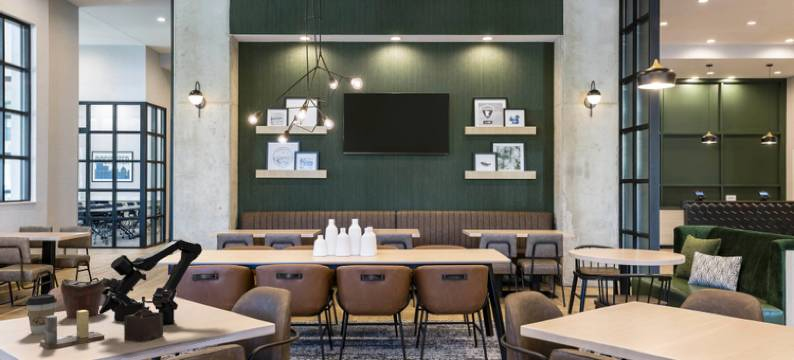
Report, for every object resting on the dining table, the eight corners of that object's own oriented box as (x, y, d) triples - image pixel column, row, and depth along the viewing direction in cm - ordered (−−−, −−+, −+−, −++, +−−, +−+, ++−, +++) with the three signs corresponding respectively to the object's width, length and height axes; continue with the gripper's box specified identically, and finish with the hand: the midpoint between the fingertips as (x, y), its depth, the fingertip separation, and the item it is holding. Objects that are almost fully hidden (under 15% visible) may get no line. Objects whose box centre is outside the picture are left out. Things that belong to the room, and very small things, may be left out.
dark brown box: (144, 342, 215) (143, 296, 215) (123, 340, 219) (123, 294, 220) (174, 333, 229) (174, 289, 230) (154, 330, 234) (154, 287, 234)
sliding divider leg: (82, 333, 224) (81, 308, 224) (88, 336, 219) (88, 311, 219) (73, 335, 222) (73, 309, 222) (80, 338, 216) (80, 312, 217)
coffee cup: (23, 337, 226) (23, 300, 227) (27, 331, 237) (27, 295, 237) (56, 333, 232) (56, 297, 232) (58, 327, 242) (58, 293, 242)
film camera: (157, 316, 262) (157, 295, 262) (146, 322, 250) (146, 300, 250) (119, 317, 261) (118, 295, 262) (106, 323, 249) (106, 301, 249)
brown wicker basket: (114, 312, 270) (114, 275, 270) (72, 321, 253) (71, 282, 254) (94, 309, 280) (93, 274, 280) (52, 318, 263) (51, 279, 263)
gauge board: (94, 334, 229) (94, 306, 229) (104, 339, 221) (104, 309, 222) (40, 344, 214) (39, 314, 215) (48, 349, 207) (48, 318, 207)
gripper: (105, 268, 234) (76, 298, 226) (123, 272, 222) (93, 304, 213) (124, 284, 240) (97, 314, 232) (143, 289, 227) (114, 321, 219)
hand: (99, 313), depth 224 cm, fingers closed
